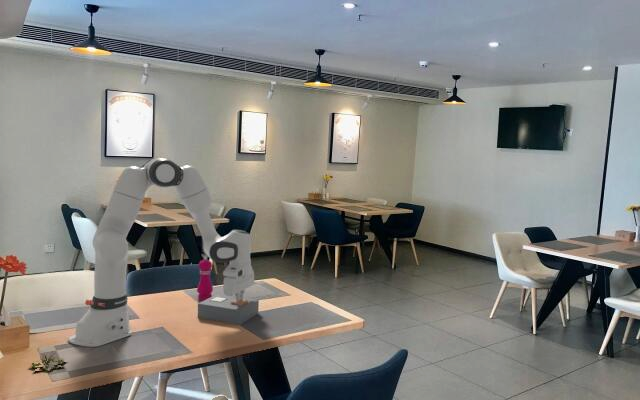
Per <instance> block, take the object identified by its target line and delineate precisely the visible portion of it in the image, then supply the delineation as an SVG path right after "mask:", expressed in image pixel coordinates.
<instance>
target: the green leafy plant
mask: <svg viewBox="0 0 640 400" xmlns="http://www.w3.org/2000/svg"><path fill="white" fill-rule="evenodd" d="M55 354H56V352H54V351H52V352H51V354H50V356H47V355H46V354H45V352H43V354H42V356H41V357H42V358H43V359H42V358H39V360H40V361H42V363H44V362H45V364H46V365H45V366H47V365H49V366H50V364H48V363H50V361H52V362H54V359H56V358H55V356H54V355H55ZM53 356H54V357H53ZM47 357H48V358H47ZM45 359H46V360H45ZM47 359H48V361H47ZM46 361H47V362H46ZM64 361H65V360H63V359H62V360H58V361H55V362H58V364H60V365H62V363H61V362H64ZM58 364H57V365H58ZM39 365H41V364H40V363H38V364H32V365H31V366H30V367H34V369H35V368H40V367H35V366H39ZM50 367H51V366H50ZM48 368H49V367H47V368H42V370H43V369H45V370H44V371H46V370H47V369H48ZM53 368H56V365H55V366H54V367H51V369H52V370H54V369H53Z"/></svg>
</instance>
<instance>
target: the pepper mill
mask: <svg viewBox="0 0 640 400" xmlns="http://www.w3.org/2000/svg"><path fill="white" fill-rule="evenodd" d="M212 267H213V264H212V261H210V260H209V259H208V256H204V257H203V259H202V260H200V261H199V263H198V268H199V274H200V280H199V283H198V285H197V287H196V292H197V293H198V295H197V299H198V301H204V300H206V299H208V298H210V297H213V295H212V292H214V291H213V290H214V288H213V284H212V282H211V279H210V278H211V277H210V276H211V269H212Z"/></svg>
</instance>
